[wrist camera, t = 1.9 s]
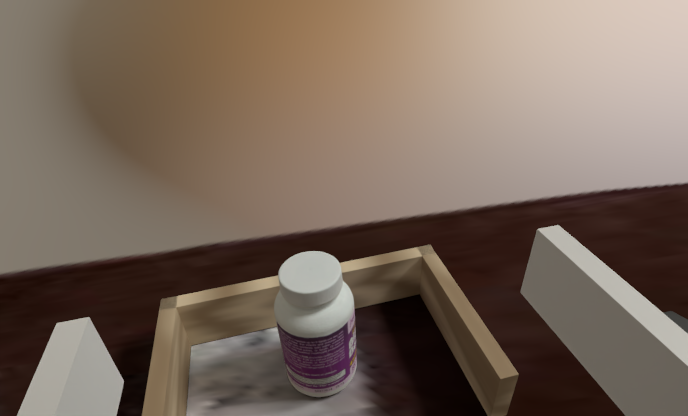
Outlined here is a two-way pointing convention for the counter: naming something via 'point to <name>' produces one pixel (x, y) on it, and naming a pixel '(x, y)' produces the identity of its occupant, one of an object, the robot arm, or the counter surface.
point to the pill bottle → (316, 324)
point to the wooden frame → (368, 289)
